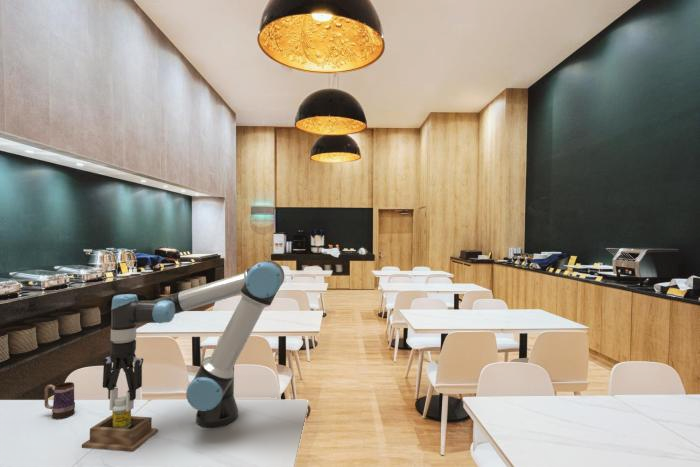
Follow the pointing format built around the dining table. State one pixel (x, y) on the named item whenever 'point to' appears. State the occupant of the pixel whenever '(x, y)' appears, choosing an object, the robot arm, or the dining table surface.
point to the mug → (61, 400)
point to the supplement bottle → (121, 414)
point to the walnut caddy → (120, 434)
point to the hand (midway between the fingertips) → (121, 408)
